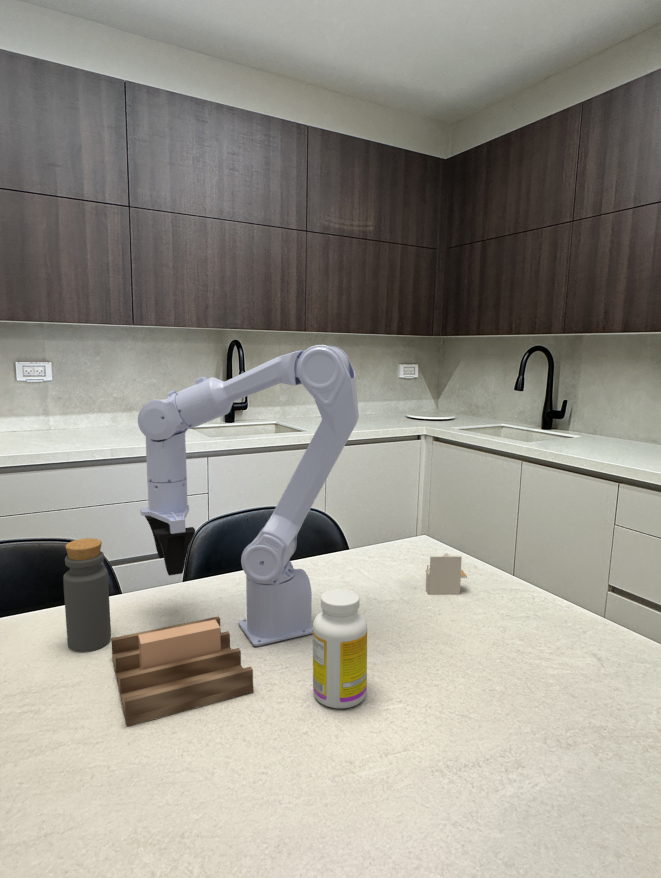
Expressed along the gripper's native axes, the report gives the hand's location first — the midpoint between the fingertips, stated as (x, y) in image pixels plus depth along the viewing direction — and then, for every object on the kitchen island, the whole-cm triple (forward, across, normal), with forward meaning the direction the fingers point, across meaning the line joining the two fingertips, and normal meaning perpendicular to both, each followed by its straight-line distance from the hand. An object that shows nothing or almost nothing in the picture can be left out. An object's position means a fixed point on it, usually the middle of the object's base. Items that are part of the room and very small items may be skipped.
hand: (170, 565), depth 86 cm
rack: (+9, +15, -2) cm, 18 cm away
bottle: (+10, +1, -12) cm, 15 cm away
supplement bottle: (+10, +28, +15) cm, 33 cm away
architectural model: (+10, +9, +46) cm, 47 cm away
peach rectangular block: (+8, +15, -2) cm, 17 cm away
